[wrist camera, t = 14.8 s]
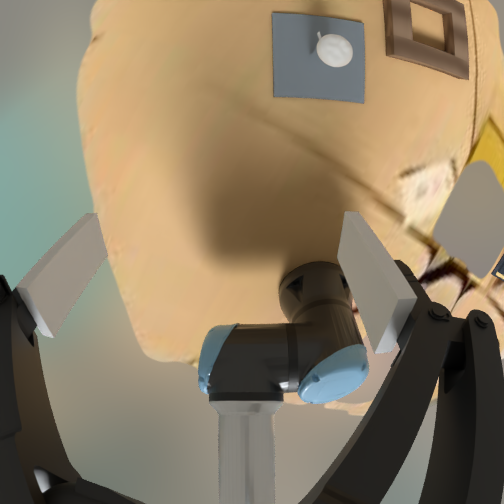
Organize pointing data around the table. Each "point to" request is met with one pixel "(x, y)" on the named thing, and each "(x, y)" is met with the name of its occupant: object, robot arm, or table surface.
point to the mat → (301, 67)
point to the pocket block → (421, 54)
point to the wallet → (499, 269)
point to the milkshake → (331, 51)
